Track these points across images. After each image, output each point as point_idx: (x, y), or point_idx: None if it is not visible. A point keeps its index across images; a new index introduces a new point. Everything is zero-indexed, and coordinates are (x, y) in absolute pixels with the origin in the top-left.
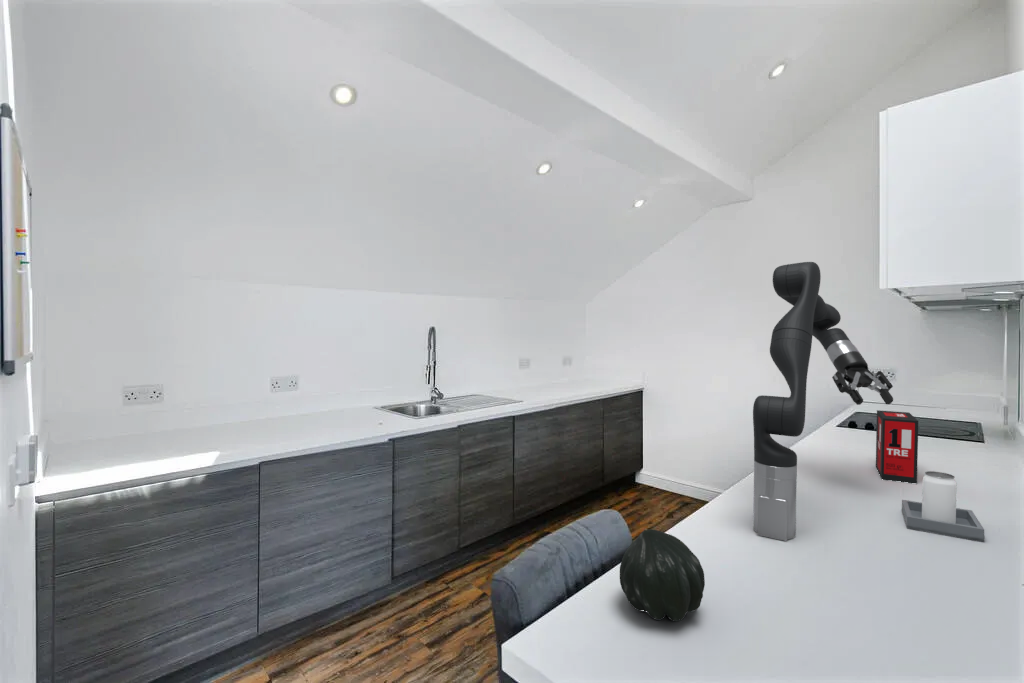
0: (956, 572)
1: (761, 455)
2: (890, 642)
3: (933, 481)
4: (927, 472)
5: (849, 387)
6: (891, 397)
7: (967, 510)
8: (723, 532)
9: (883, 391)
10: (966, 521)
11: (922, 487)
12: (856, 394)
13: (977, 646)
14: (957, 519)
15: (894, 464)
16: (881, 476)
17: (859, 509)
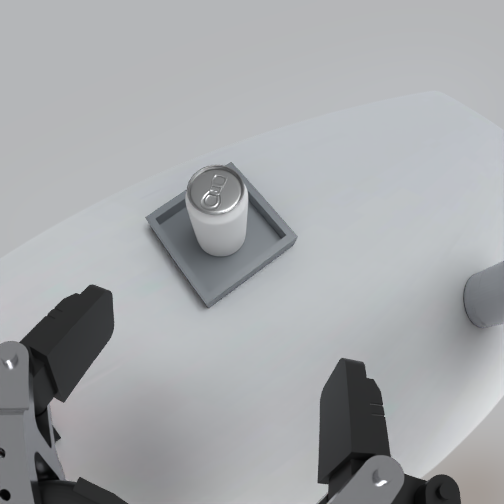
0: (362, 145)
1: None
2: (481, 131)
3: (246, 190)
4: (215, 213)
5: (395, 497)
6: (80, 295)
7: (153, 219)
8: None
9: (54, 363)
10: (172, 219)
11: (235, 228)
12: (366, 419)
13: (438, 104)
14: (175, 229)
15: None
16: (55, 440)
17: (287, 342)
